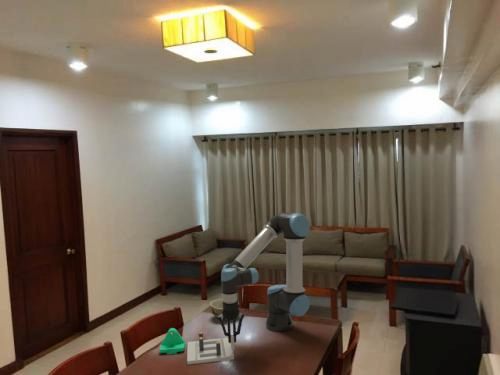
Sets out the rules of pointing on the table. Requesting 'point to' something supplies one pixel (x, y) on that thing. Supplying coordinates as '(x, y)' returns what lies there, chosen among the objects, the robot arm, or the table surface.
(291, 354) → the table surface
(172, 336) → the camera mount
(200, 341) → the breaker
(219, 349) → the breaker
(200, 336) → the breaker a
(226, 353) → the panel
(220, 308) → the bowl
